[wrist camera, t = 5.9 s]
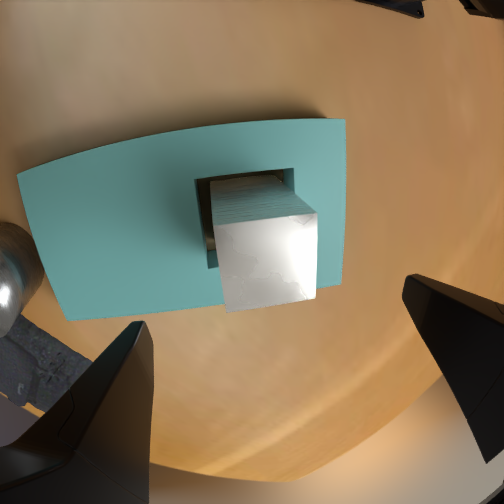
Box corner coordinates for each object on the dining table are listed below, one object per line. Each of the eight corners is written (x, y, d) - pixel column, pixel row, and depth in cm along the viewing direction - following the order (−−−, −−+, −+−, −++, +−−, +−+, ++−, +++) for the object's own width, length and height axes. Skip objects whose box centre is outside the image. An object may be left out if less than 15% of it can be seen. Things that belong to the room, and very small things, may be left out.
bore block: (327, 118, 17) (345, 119, 15) (327, 267, 22) (340, 284, 20) (35, 166, 15) (16, 174, 13) (77, 301, 20) (67, 320, 18)
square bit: (272, 174, 18) (317, 213, 11) (275, 231, 20) (315, 298, 13) (209, 181, 18) (213, 225, 11) (217, 239, 19) (226, 312, 12)
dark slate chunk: (97, 429, 29) (93, 458, 25) (-37, 345, 20) (-52, 369, 16) (142, 379, 25) (137, 418, 21) (-35, 261, 17) (-62, 286, 12)
